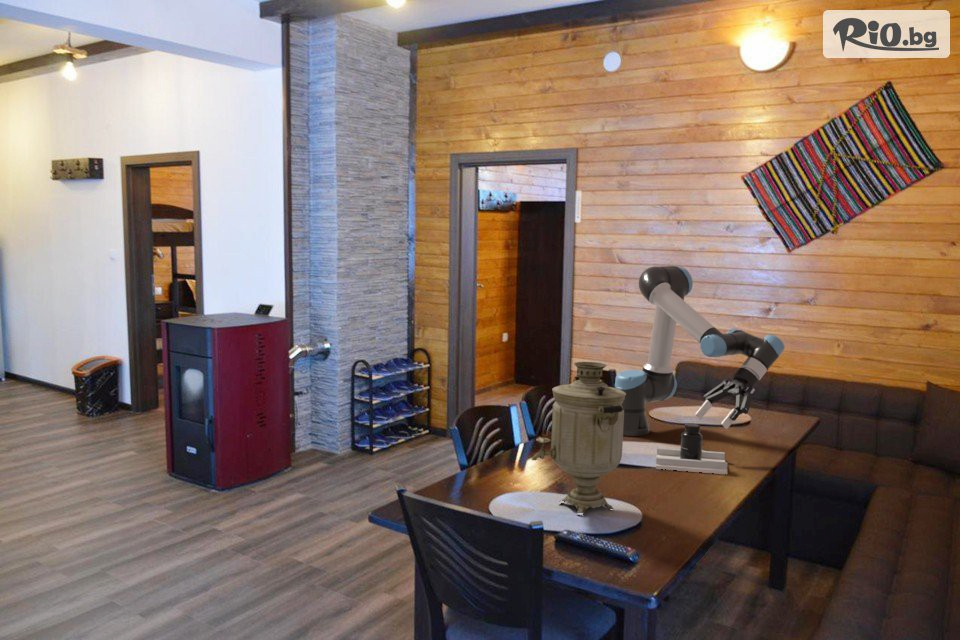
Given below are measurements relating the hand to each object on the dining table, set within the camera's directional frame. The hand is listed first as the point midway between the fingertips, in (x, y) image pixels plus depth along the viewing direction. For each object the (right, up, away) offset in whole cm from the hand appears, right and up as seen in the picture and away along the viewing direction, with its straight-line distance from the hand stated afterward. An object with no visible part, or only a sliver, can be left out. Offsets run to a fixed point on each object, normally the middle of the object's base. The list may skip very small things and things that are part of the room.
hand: (710, 421), depth 244 cm
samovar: (-50, -18, -40) cm, 66 cm away
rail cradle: (-7, -14, 0) cm, 16 cm away
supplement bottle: (-7, -13, 0) cm, 15 cm away
